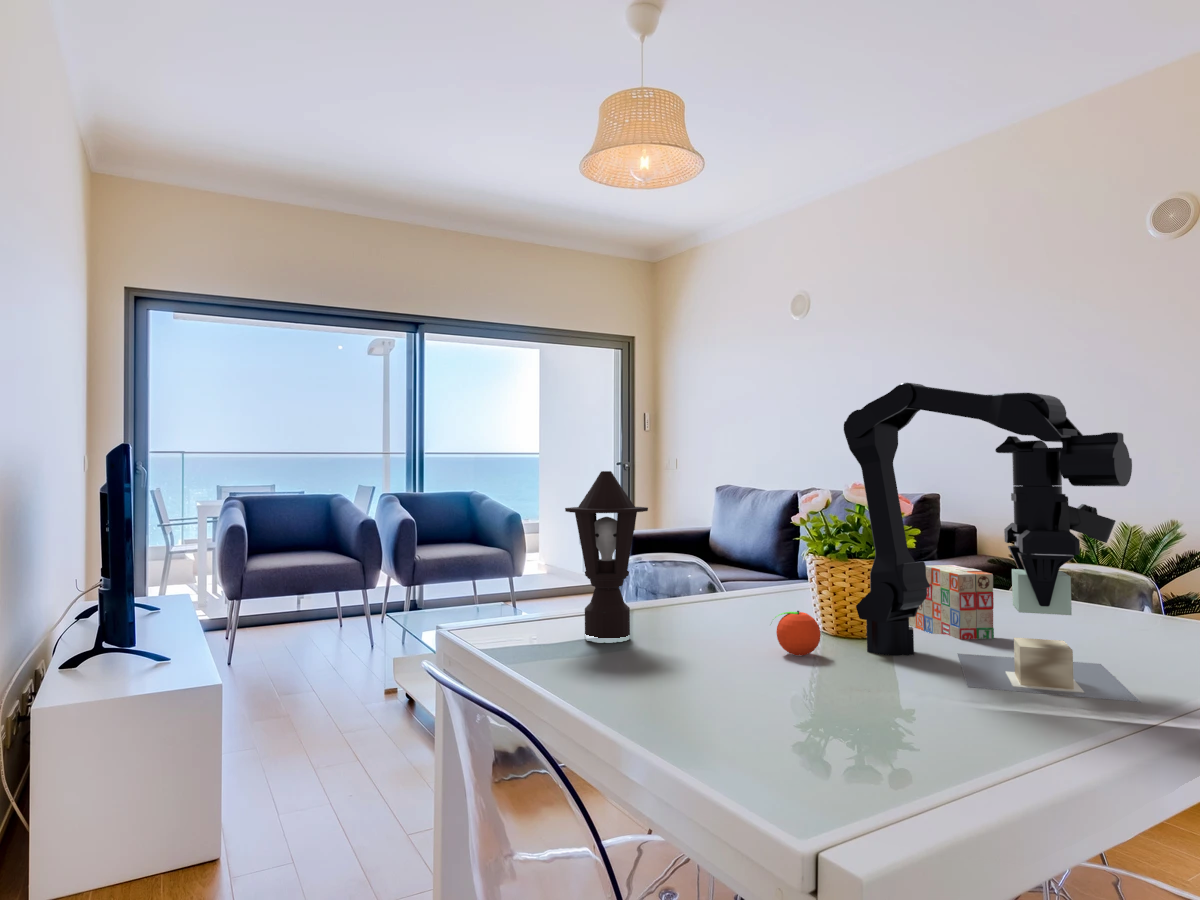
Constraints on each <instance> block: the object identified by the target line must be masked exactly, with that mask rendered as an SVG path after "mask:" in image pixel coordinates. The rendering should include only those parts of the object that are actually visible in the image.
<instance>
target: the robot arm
mask: <svg viewBox="0 0 1200 900" xmlns="http://www.w3.org/2000/svg"><path fill="white" fill-rule="evenodd" d="M921 410H922V411H927V412H932V413H937V414H938V413H939V414H943V415H951V416H956V417H962V418H963V417H964V418H969V419H973V420H974V419H975V420H980V421H983V422H986V423H988V424H990V425H992V426H994V427H997V428H1000V429H1002V430H1005V431H1008V432H1010V433H1014V434H1016V435H1019V436H1030V437H1031V436H1033V437H1035V438H1037V440H1020V439H1019V438H1018V436H1015V435H1009V436H1007V437H1006V439H1005V440H1004V441H1002V443H1001V444H1000V445H998V446H997V447H996V448H995V453H997V454H1012V455H1011V456H1012V485H1013V487H1012V492H1011V493H1010V498H1011V499H1010V501H1013V522H1011V523H1010V524H1008V525H1007V526H1006V527H1005V528H1004V533H1003V534H1004V542H1005V544H1012V543H1014V545H1007V548H1008V551H1009V552H1010V554H1011V556H1012V559H1013V561H1014V562H1015V564H1016V567H1017V569H1021V570H1025V572H1026V574H1027V577H1028V579H1029V582H1030V584H1031V586H1032V589H1033V591H1034V594H1035V596H1036V598H1037V601H1038V603H1039V605H1040V606H1046V607H1048V606H1050V602H1051V598H1052V594H1053V590H1054V586H1055V582H1056V579H1057V575H1058V571H1060V568H1061V567H1062V566H1064V565H1065V564H1066V563H1068V562H1069V561H1071V560H1073V559H1074V557H1075V556H1077V555H1078V556H1080V555H1081V548H1080V545H1081V543H1080V541H1081V540H1080V539H1079V538H1078V537H1077V536H1076V535H1075V534H1074V533H1072V532H1071V531H1073V532H1077V533H1079V534H1082V535H1086V536H1087V537H1088V538H1089V539H1094V540H1096V541H1099V542H1102V543H1106V544H1107V543H1108V541H1109V539H1110V536H1111V533H1112V531H1113V529H1114V526H1115V524H1116V520H1115V519H1112V518H1109V517H1107V516H1104V515H1100V514H1098V509H1097V507H1094V506H1090V505H1087V504H1083V503H1082V504H1080V505H1079V506H1077V507H1074V506H1072V505H1071V506H1070V504H1069V496H1067V495H1066V493H1063V486H1062V485H1063V481H1062V480H1063V479H1064V480H1065V479H1066V480H1068V482H1069V483H1070V485H1071V486H1074V487H1126V486H1127V485H1128V484H1129V482H1130V480H1131V476H1132V472H1133V460H1132V457H1131V456H1130V453H1129V449H1128V447H1127V445H1126V443H1125V442H1124V433H1122V432H1116V431H1115V432H1103V433H1100V434H1086V435H1085V434H1083V433H1082V432H1081V431H1080V430H1079V429H1078V428H1077V426H1075V424H1074V423H1073V422H1072V421H1071V420H1070V419H1069V417H1067V410H1066V407H1065V405H1064V404H1063V402H1062V401H1061V400H1060V399H1059V398H1058V397H1056V396H1052V395H1050V394H1049V395H1048V394H1042V393H1041V394H1040V393H1034V392H1010V393H1009V392H1008V393H1007V392H1006V393H995V394H981V393H974V392H967V391H961V390H953V389H947V388H946V389H945V388H939V387H933V386H932V387H930V386H925V385H924V384H920V383H915V382H914V383H913V382H903V383H902V382H901V383H900V384H897V385H896V386H895V387H894V388H893V389H891V390H890V391H889V392H887V393H886V394H884V395H881V396H880V397H878V398H876V399H874V400H872V401H871V402H868V403H867V404H866V405H864V406H863V407H862V408H861V409H856V410H854V411H852V412H851V413H850V414H848V416H847V418H846V420H844V423H843V433H844V436H845V440H846V442H847V445H848V449H849V451H850V452H851V454H852V456H853V457H854V458H855V460H856V461H857V463H858V464H859V466H860V468H861V474H862V479H863V486H864V491H865V498H866V502H867V503H866V505H867V511H868V517H869V521H870V528H871V534H872V540H873V546H874V550H875V551H874V552H875V557H874V560H873V563H872V566H871V570H870V574H869V578H870V579H869V582H870V583H869V585H870V587H869V588H870V591H869V592H868V593H867V594H866V595H864V597H863V598H862V599H861V600H860V601H859V602H858V603H857V604H856V606H855V609H856V612H857V615H858V618H859V619H860V620H863V621H866V652H867V653H871V654H877V655H880V656H881V655H882V656H888V657H890V656H892V657H895V656H896V657H897V656H898V657H901V656H915V646H914V645H915V643H914V642H915V641H914V638H915V637H914V636H915V635H914V627H913V626H910V625H909V617H915V616H916V614H917V611H918V608H919V606H920V605H921V604H922V603H923V601H924V600H925V599H926V596H927V588H929V587H930V585H929V583H928V581H927V578H926V566H927V565H926V563H925V561H923V560H922V561H921V560H920V561H915V559H914V557H913V556H912V555H911V554H910V552H909V549H908V542H907V536H906V532H905V526H904V525H905V524H904V519H903V515H902V514H903V513H902V509H901V507H902V506H901V503H900V497H899V489H898V486H897V484H898V483H897V479H896V474H895V467H894V460H895V456H896V453H897V449H898V448H899V432H900V431H901V430H902V429H904V428H905V427H906V426H907V425H908V424H910V422H911V421H912V420H913V418H915V416H916V415H917V413H918V412H920V411H921ZM1047 442H1048V443H1049V442H1050V443H1061V445H1062V447H1049V446H1048V445H1047V444H1046V443H1047Z"/></svg>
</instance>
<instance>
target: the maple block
mask: <svg viewBox="0 0 1200 900" xmlns="http://www.w3.org/2000/svg"><path fill="white" fill-rule="evenodd" d="M1013 653H1014V654H1013V656H1014V661H1015V675H1016V677H1017V679H1018V681H1019V682H1020V684H1021V685H1029V686H1040V687H1052V688H1064V689H1074V679H1073V662H1074V655H1073V653H1074V650H1073V649H1072V647H1070V645H1068V643H1066V642H1065V640H1057V639H1046V638H1045V639H1043V638H1042V639H1041V638H1029V637H1027V638H1026V637H1013Z"/></svg>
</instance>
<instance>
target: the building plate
mask: <svg viewBox="0 0 1200 900" xmlns="http://www.w3.org/2000/svg"><path fill="white" fill-rule="evenodd" d="M957 657H958V661H959V664H960V667H961V670H962V673H963V677H964V680H965V683H966V686H967V688H970V689H971V688H973V689H981V690H982V689H986V690H995V691H1005V692H1008V691H1009V692H1017V693H1018V692H1020V693H1031V694H1041V695H1042V694H1043V695H1053V696H1055V695H1056V696H1065V697H1078V698H1085V699H1086V698H1089V699H1100V700H1110V701H1121V702H1122V701H1123V702H1131V703H1132V702H1133V703H1134V702H1135V703H1142V702H1141V700H1140V699H1138V698H1137V696H1136V695H1134V694H1133V693H1132V692H1131V691H1130V690H1129V689H1128V688H1127V687H1126V686H1125V685H1124V684H1123V683H1122V682H1121V681H1120V680H1119V679H1117V678H1116V677H1115V676H1114V675H1113V674H1112V673H1111V672H1110V671H1109V670H1108V669H1107V668H1106V667H1105V666H1104V665H1103V664H1102V663H1095V662H1083V661H1073V679H1074V689H1064V688H1052V687H1040V686H1029V685H1021V684H1020V682H1019V681H1018V679H1017V677H1016V675H1015V661H1014V657H1011V656H997V655H986V654H985V655H982V654H969V653H957Z"/></svg>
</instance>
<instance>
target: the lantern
mask: <svg viewBox="0 0 1200 900" xmlns="http://www.w3.org/2000/svg"><path fill="white" fill-rule="evenodd" d="M564 510H565V511H564V512H567V513H574V515H575V519H576V526H577V531H578V532H577V533H578V536H579V537H578V538H579V543H580V547H581V551H582V557H583V563H584V568H585V571H584V576H585V577H587V579H588V580H589V581H590V585H591V586H592V587H594V590H593V593H592V596H591V599H590V602H589V603H588V604H587V605H586V606H585V608H584V635H585V634H586V635H589V636H594V637H598V638H620V637H626V636H628V635H630V636H631V623H630V622H631V615H630V613H631V612H630V611H631V609H630V607H629V605H627V604H626V602H625V601H624V597H623V595H622V592H621V588H620V587H623V585H624V580H626V579H627V577H629V574H630V571H629V561H630V557H631V551H632V550H631V549H632V543H633V538H634V531H635V527H636V521H637V520H636V519H637V515H638V513H642V512H648V511H649V507H646V506H635V505H634V504H633V502H632V501H631V499H630V497H629V496H628V494H627V493H626V492H625V490H624V489H623V487H622V486H621V485H620V483H619V481H618V479H617V478H616V477H615V475H614V473H613V472H612V471H611V470H609V471H608V470H603V471H602V470H600V472H599V474H598V475H597V478H595V480H594V482H593V484H592V485H591V487H590V488H589V491H587V493H586V495H585V496H584V497H583V499H582V501H581V502H580V503H579V505H578V506H574V507H573V506H572V507H565V508H564ZM597 514H616V518H617V519H615V518H613V517H609V516H604V517H600V518H598V519H597ZM614 554H615V555H614ZM613 555H614V558H613ZM600 557H601V558H600Z"/></svg>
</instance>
